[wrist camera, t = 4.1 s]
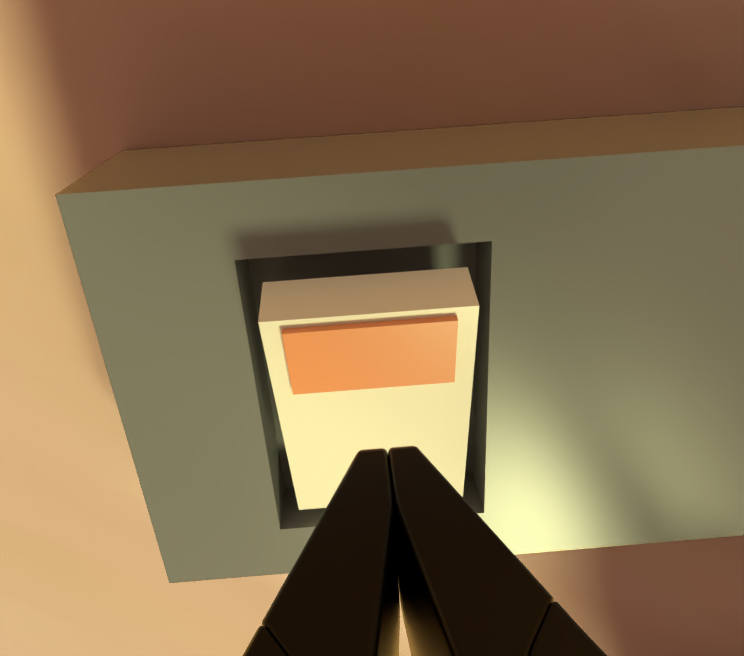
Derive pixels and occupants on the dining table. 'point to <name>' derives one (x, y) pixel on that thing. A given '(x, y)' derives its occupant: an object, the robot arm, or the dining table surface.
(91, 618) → the dining table surface
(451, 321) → the rocker
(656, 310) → the grey rocker switch panel
